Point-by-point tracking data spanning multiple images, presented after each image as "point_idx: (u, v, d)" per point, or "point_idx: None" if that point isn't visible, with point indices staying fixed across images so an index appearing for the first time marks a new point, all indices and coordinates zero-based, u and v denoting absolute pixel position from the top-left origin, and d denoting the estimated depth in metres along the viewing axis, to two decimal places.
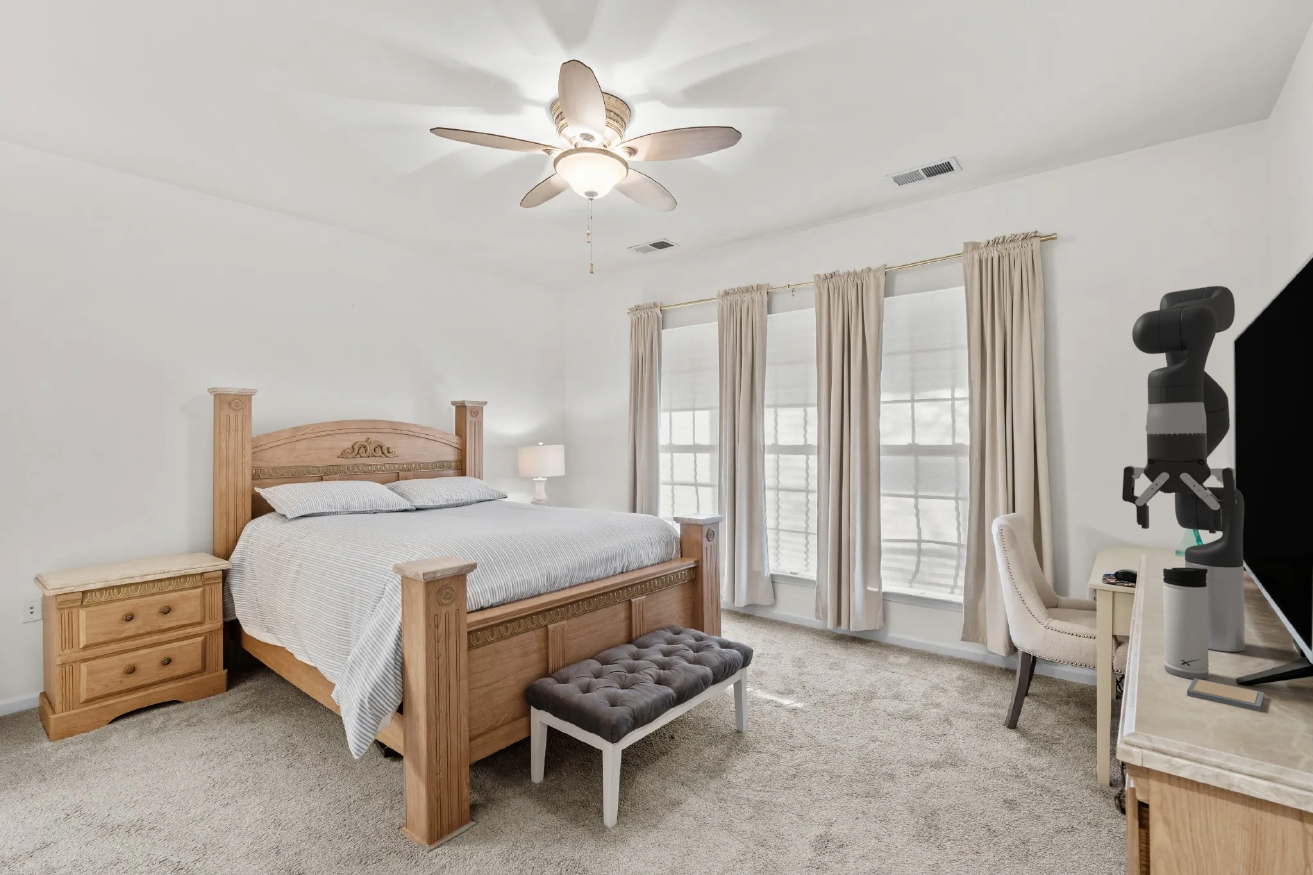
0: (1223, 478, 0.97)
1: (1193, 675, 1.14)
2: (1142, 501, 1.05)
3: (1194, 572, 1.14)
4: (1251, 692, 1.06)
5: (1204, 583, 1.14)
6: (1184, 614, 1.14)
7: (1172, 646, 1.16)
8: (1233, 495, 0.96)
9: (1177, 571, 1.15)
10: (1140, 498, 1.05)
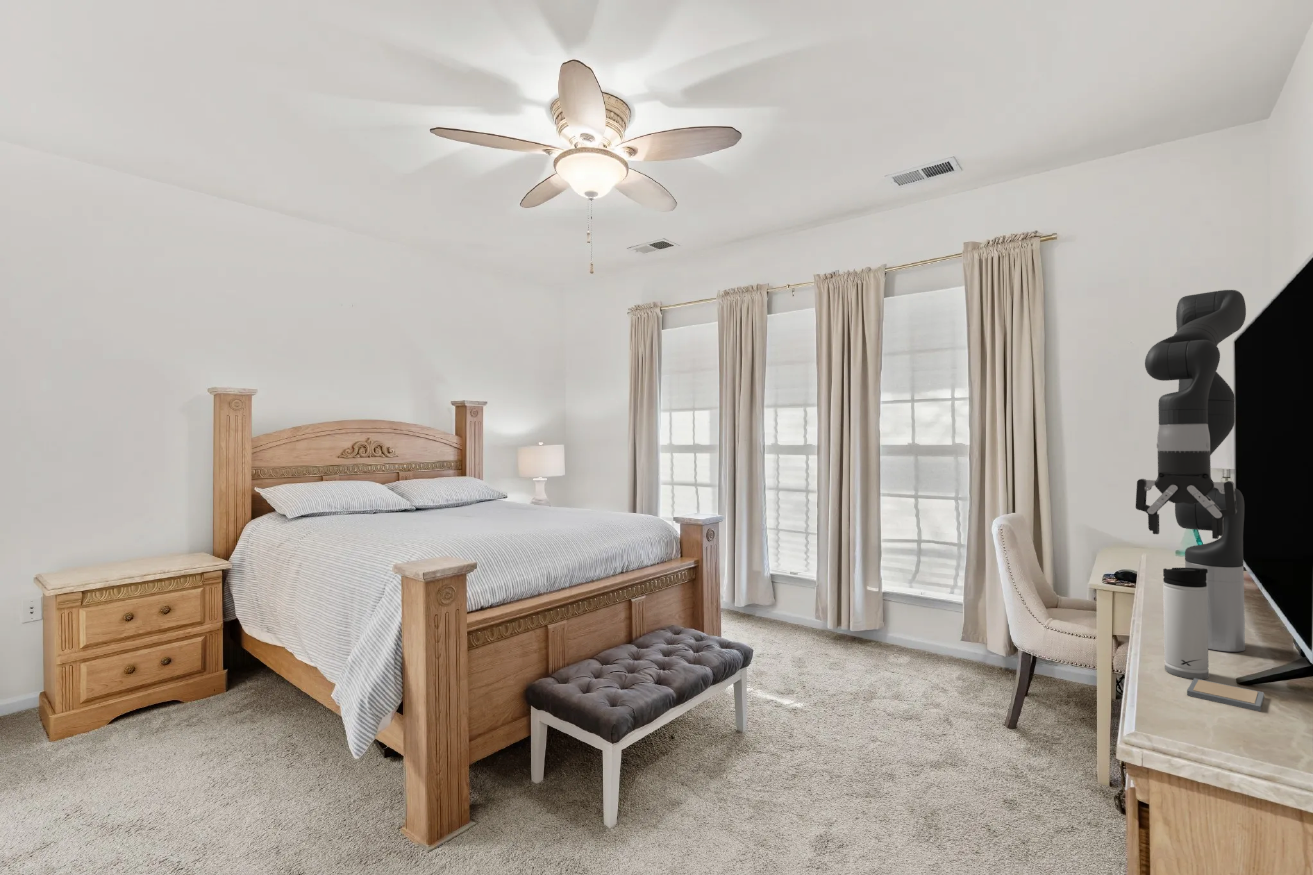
0: (1225, 490, 1.12)
1: (1193, 675, 1.14)
2: (1153, 510, 1.19)
3: (1194, 572, 1.14)
4: (1251, 692, 1.06)
5: (1204, 583, 1.14)
6: (1184, 614, 1.14)
7: (1172, 646, 1.16)
8: (1233, 505, 1.11)
9: (1177, 571, 1.15)
10: (1151, 507, 1.19)
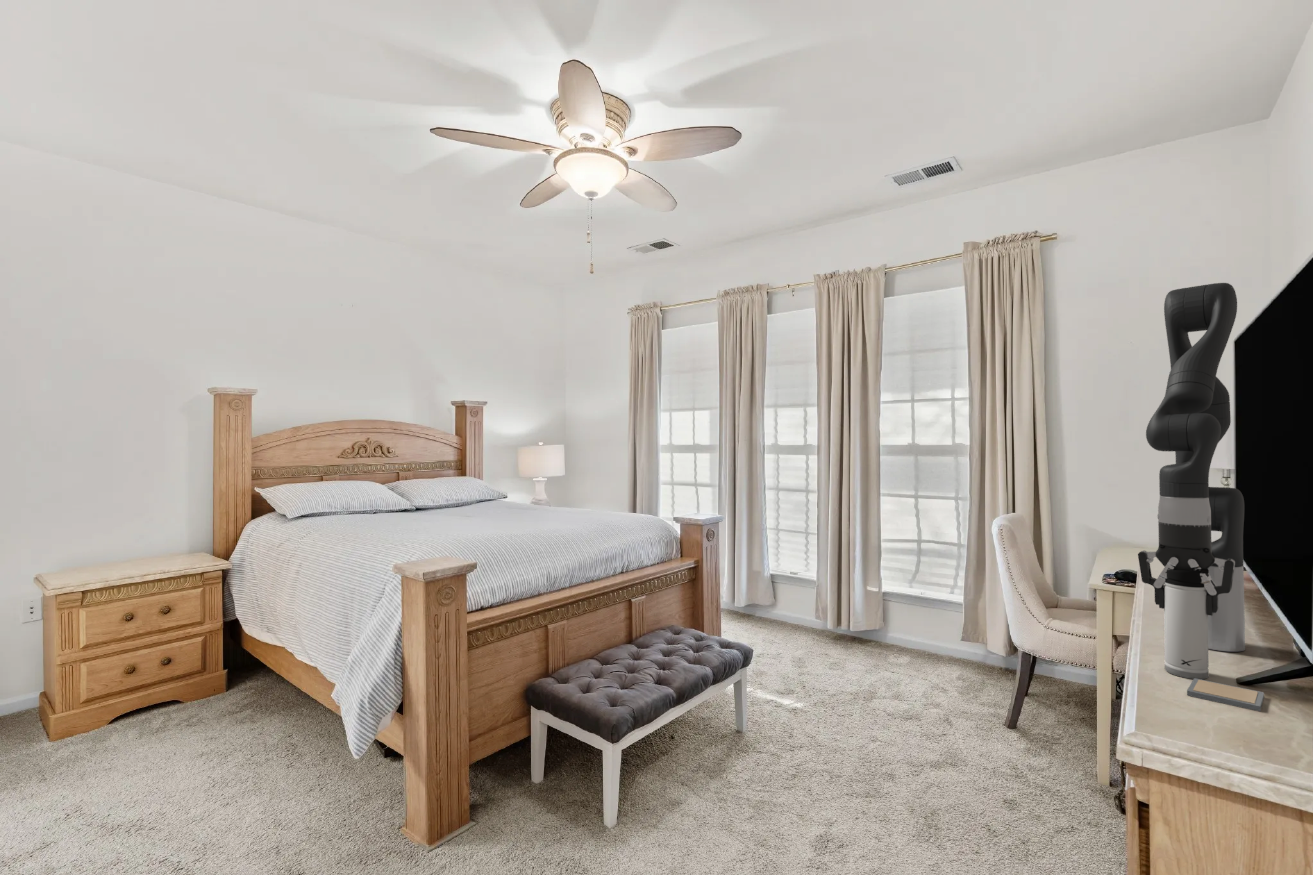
0: (1224, 568, 1.12)
1: (1193, 675, 1.14)
2: (1160, 584, 1.18)
3: (1195, 572, 1.14)
4: (1251, 692, 1.06)
5: None
6: (1184, 614, 1.14)
7: (1172, 646, 1.16)
8: (1229, 584, 1.11)
9: (1178, 571, 1.15)
10: (1158, 581, 1.18)
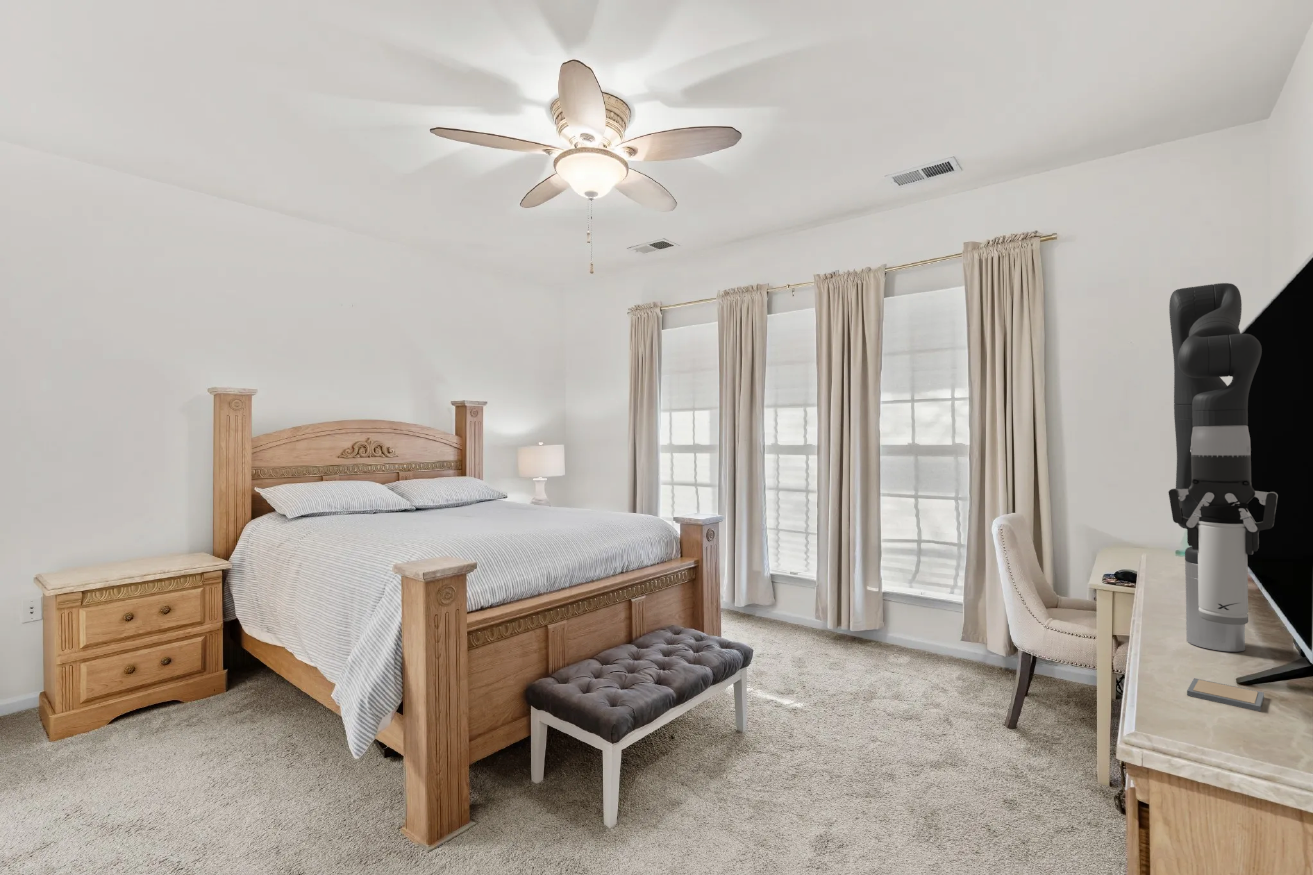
0: (1266, 502, 1.02)
1: (1231, 620, 1.04)
2: (1193, 523, 1.08)
3: (1233, 507, 1.03)
4: (1251, 692, 1.06)
5: None
6: (1221, 554, 1.04)
7: (1208, 589, 1.06)
8: (1272, 519, 1.01)
9: (1214, 507, 1.05)
10: (1191, 520, 1.08)
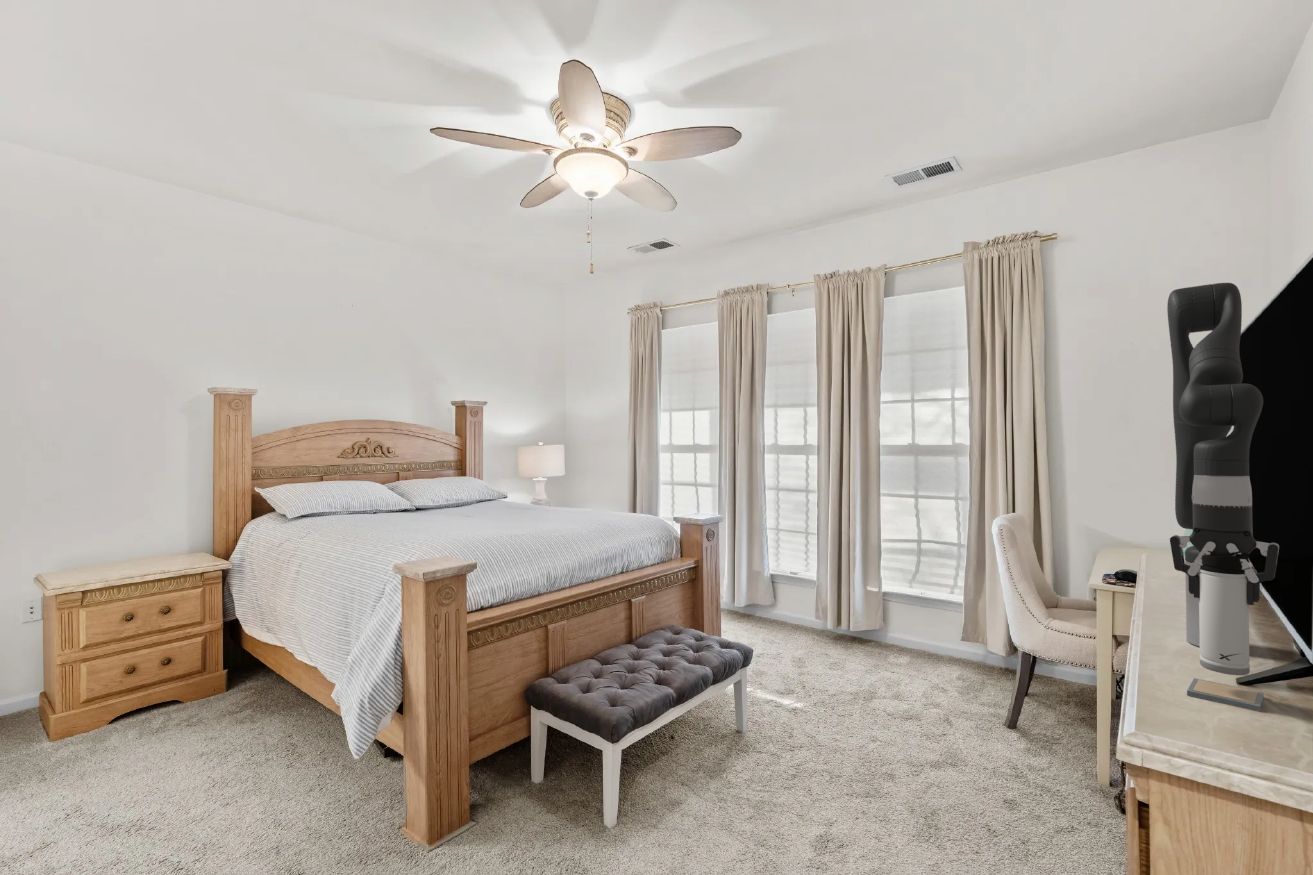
0: (1267, 553, 1.02)
1: (1233, 671, 1.03)
2: (1194, 571, 1.08)
3: (1235, 558, 1.03)
4: (1251, 692, 1.06)
5: None
6: (1223, 604, 1.04)
7: (1209, 638, 1.06)
8: (1273, 570, 1.01)
9: (1215, 557, 1.05)
10: (1192, 568, 1.08)
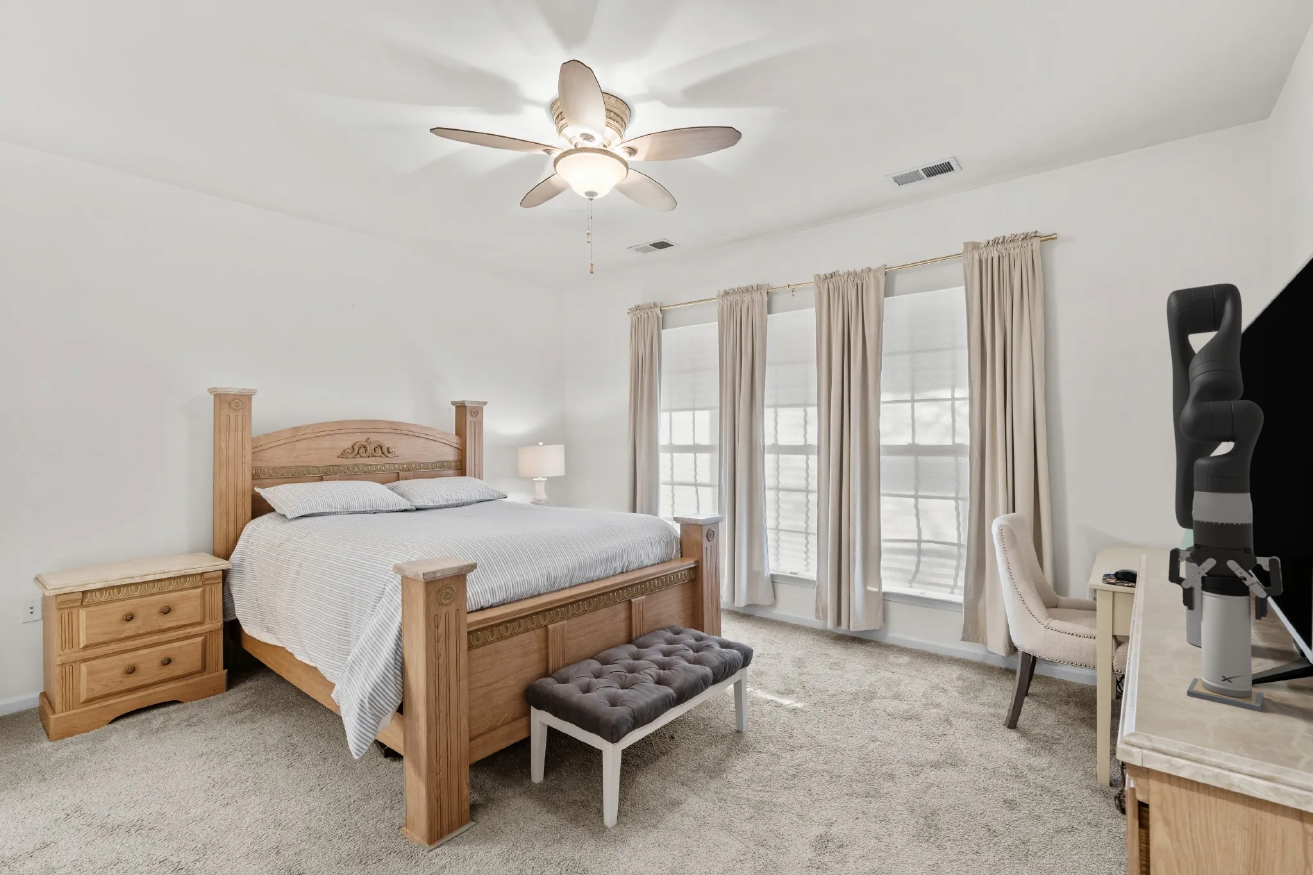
0: (1269, 568, 1.01)
1: (1235, 693, 1.03)
2: (1188, 584, 1.09)
3: (1236, 580, 1.03)
4: None
5: (1247, 592, 1.04)
6: (1225, 626, 1.04)
7: (1211, 660, 1.06)
8: (1279, 585, 1.00)
9: (1217, 578, 1.05)
10: (1186, 581, 1.09)
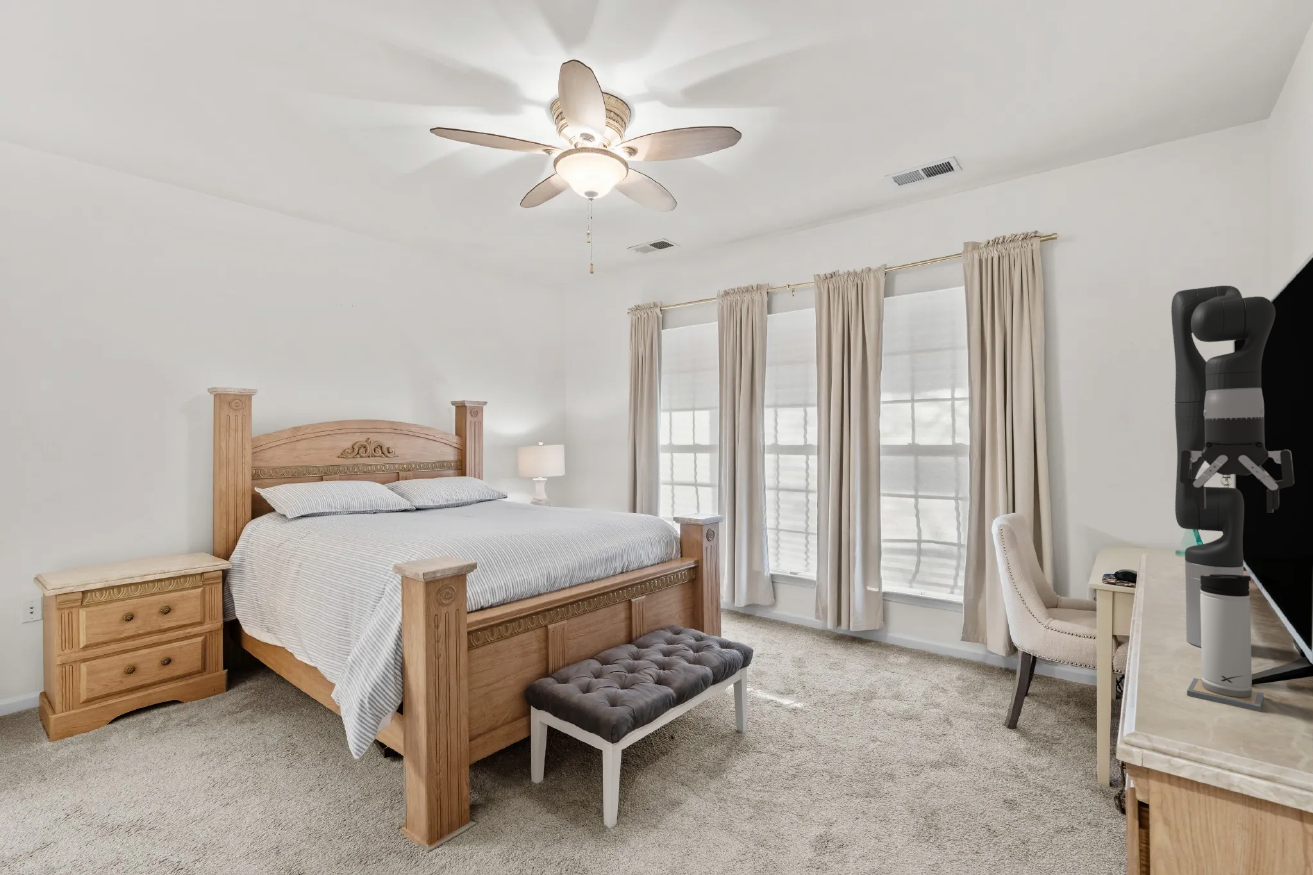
0: (1281, 460, 1.02)
1: (1235, 693, 1.03)
2: (1200, 483, 1.10)
3: (1236, 580, 1.03)
4: None
5: (1247, 592, 1.04)
6: (1224, 626, 1.04)
7: (1211, 660, 1.06)
8: (1291, 476, 1.01)
9: (1217, 578, 1.05)
10: (1198, 480, 1.10)
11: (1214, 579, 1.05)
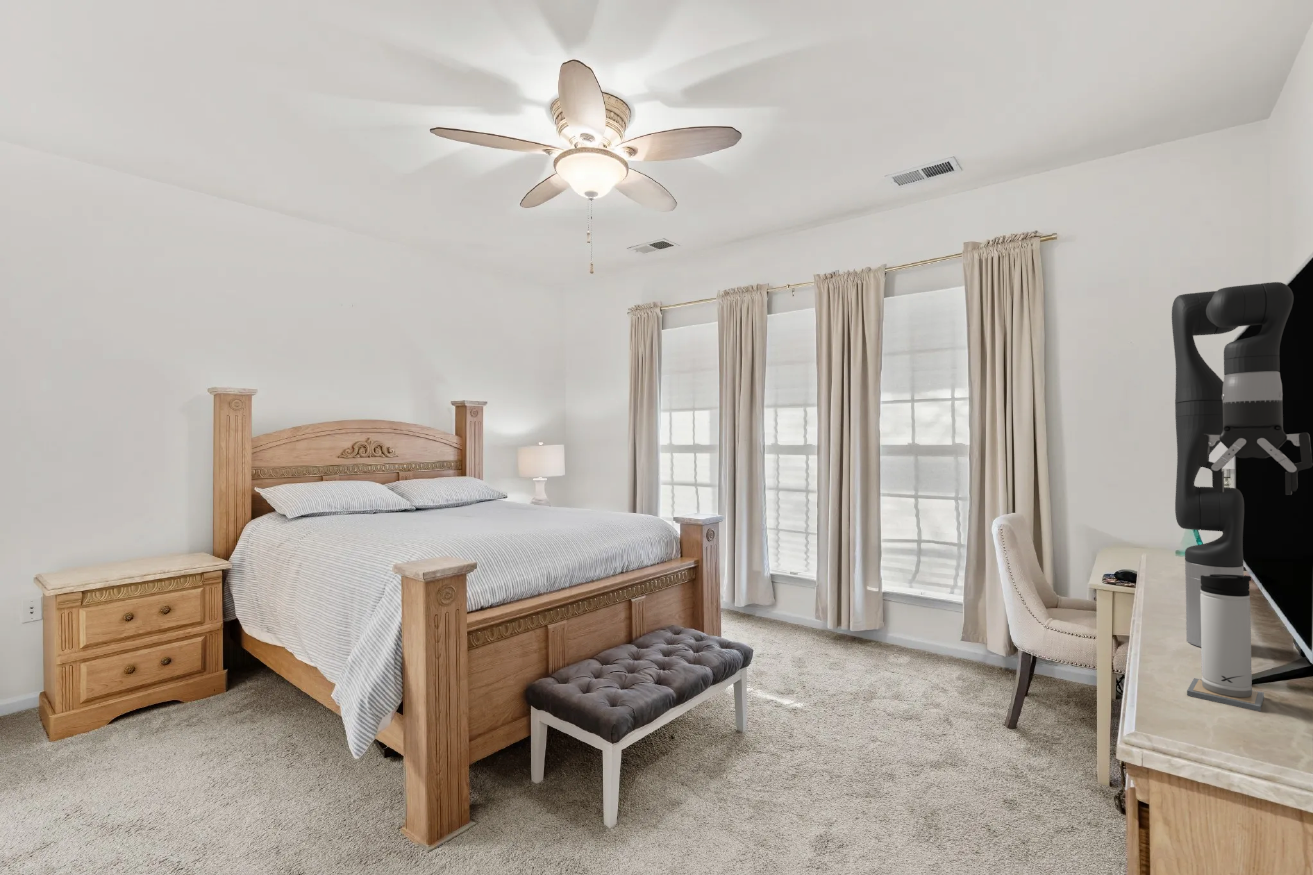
0: (1300, 442, 1.04)
1: (1235, 693, 1.03)
2: (1218, 466, 1.11)
3: (1236, 580, 1.03)
4: None
5: (1247, 592, 1.04)
6: (1224, 626, 1.04)
7: (1211, 660, 1.06)
8: (1310, 458, 1.03)
9: (1217, 578, 1.05)
10: (1216, 463, 1.11)
11: (1214, 579, 1.05)
